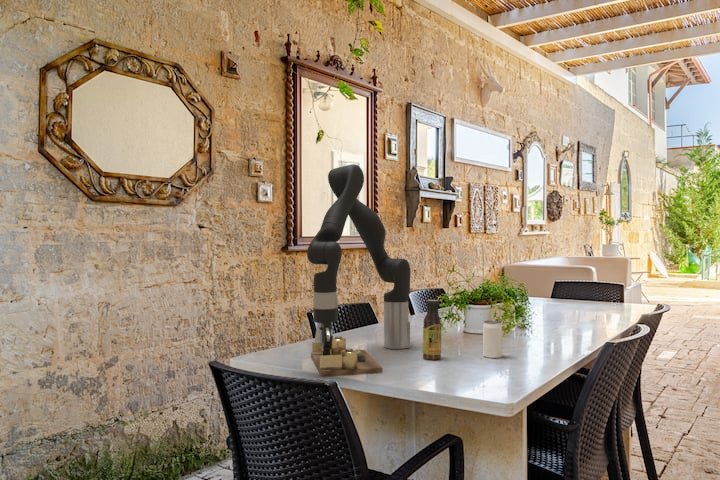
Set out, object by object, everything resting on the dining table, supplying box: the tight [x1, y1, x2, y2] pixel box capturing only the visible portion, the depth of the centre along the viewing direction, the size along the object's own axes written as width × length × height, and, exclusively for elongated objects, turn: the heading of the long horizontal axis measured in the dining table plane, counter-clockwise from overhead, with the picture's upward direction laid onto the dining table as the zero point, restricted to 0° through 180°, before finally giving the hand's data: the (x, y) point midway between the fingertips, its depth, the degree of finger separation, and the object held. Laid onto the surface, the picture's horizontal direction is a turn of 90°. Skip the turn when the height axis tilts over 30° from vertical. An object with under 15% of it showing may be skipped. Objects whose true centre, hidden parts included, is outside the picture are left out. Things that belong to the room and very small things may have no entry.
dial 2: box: [320, 348, 357, 369], centre depth 180 cm, size 12×5×6 cm, turn 103°
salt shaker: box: [314, 323, 321, 342], centre depth 216 cm, size 6×6×13 cm
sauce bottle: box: [422, 299, 443, 361], centre depth 200 cm, size 6×6×20 cm
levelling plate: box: [310, 348, 383, 377], centre depth 193 cm, size 19×29×5 cm, turn 11°
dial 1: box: [311, 335, 347, 355], centre depth 202 cm, size 12×5×6 cm, turn 95°
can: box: [482, 320, 503, 359], centre depth 202 cm, size 6×6×12 cm
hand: (326, 362), depth 182 cm, fingers closed
